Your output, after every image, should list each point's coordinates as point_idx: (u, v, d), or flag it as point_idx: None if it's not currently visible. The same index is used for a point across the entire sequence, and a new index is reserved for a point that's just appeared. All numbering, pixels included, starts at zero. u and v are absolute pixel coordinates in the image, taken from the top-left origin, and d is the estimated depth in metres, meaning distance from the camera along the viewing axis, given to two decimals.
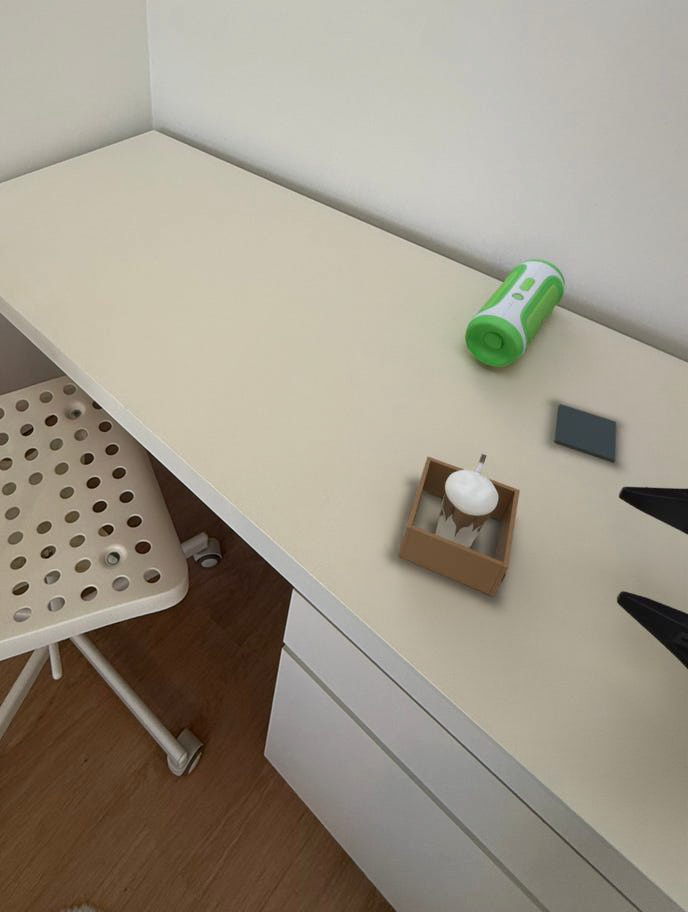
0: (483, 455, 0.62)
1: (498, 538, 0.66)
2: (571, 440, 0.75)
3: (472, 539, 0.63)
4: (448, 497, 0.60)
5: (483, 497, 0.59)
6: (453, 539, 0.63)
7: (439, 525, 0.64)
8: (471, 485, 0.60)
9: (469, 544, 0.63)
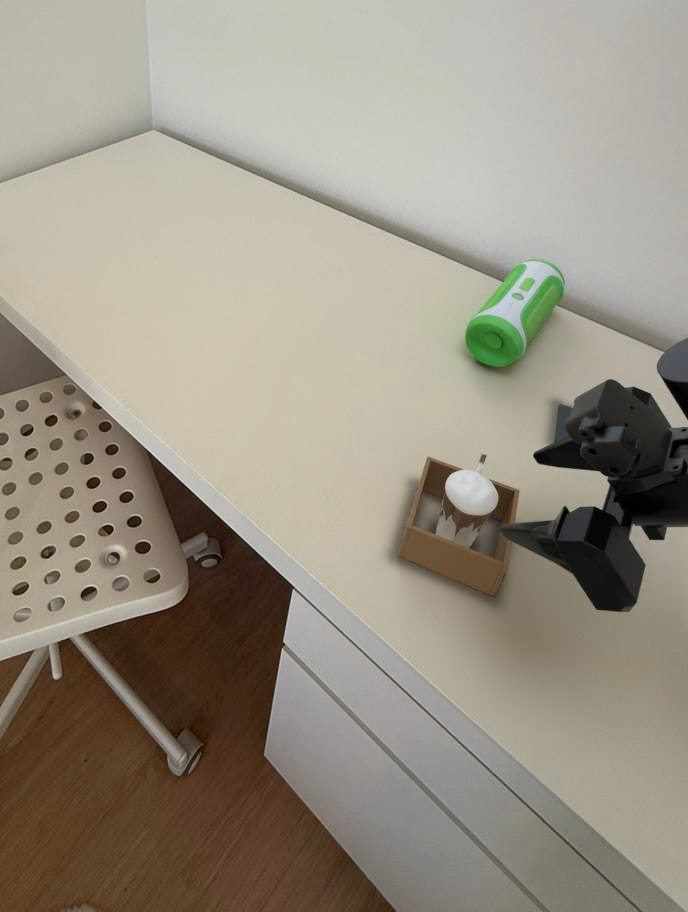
0: (483, 455, 0.62)
1: (498, 538, 0.66)
2: None
3: (472, 539, 0.63)
4: (448, 497, 0.60)
5: (483, 497, 0.59)
6: (453, 539, 0.63)
7: (439, 525, 0.64)
8: (471, 485, 0.60)
9: (469, 544, 0.63)
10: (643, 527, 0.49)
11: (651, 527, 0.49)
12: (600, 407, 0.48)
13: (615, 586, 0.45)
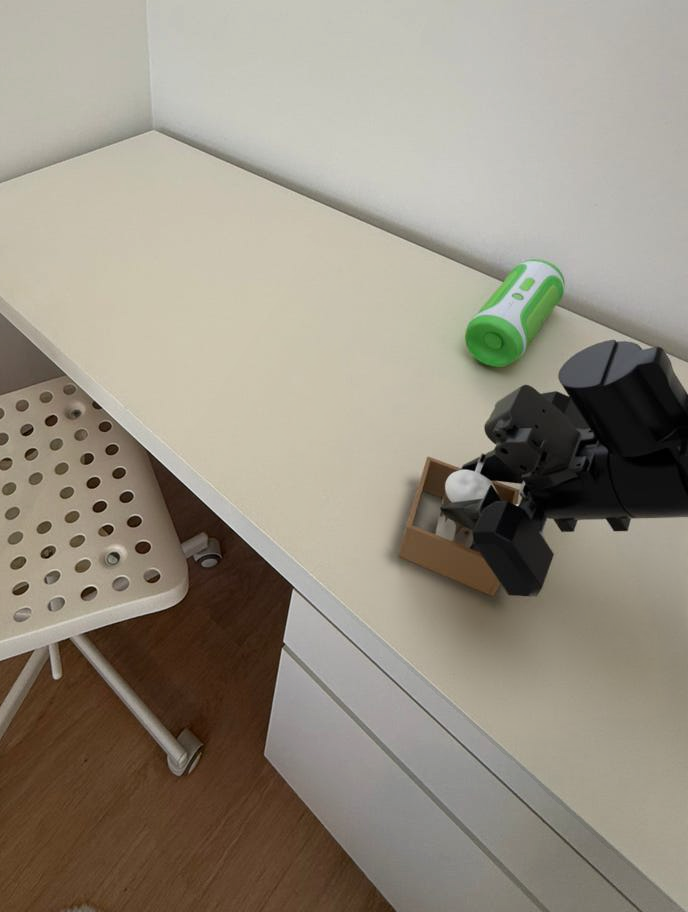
0: (483, 455, 0.62)
1: None
2: None
3: (472, 539, 0.63)
4: (448, 497, 0.60)
5: (483, 496, 0.59)
6: (453, 539, 0.63)
7: (439, 525, 0.64)
8: (471, 484, 0.60)
9: (469, 544, 0.63)
10: (555, 520, 0.54)
11: (562, 520, 0.53)
12: (513, 411, 0.52)
13: (522, 573, 0.49)
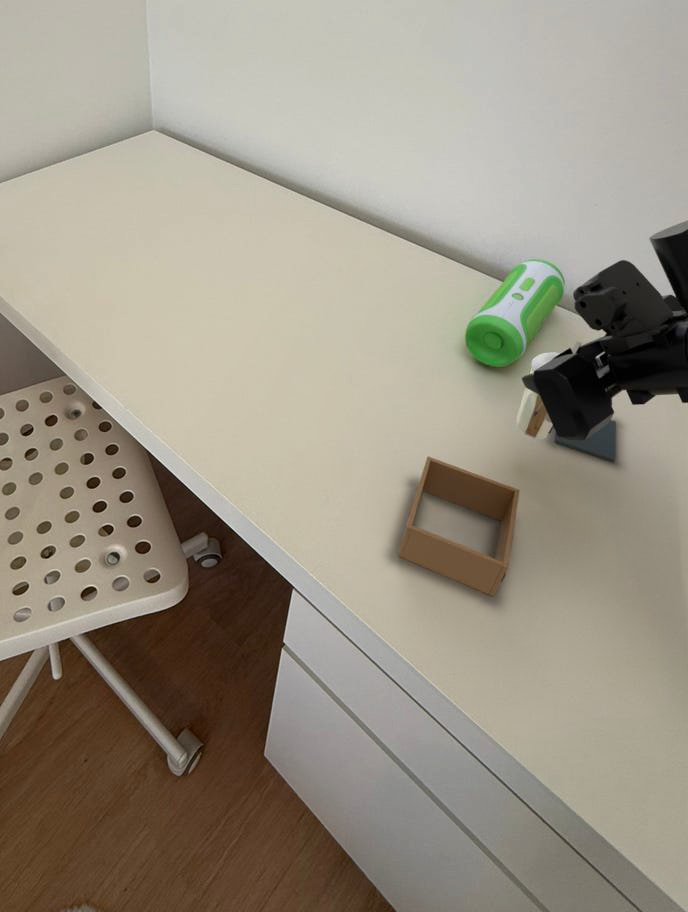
0: (578, 342, 0.64)
1: (498, 538, 0.66)
2: (571, 440, 0.75)
3: (550, 421, 0.65)
4: (532, 369, 0.64)
5: None
6: (531, 416, 0.66)
7: (521, 404, 0.67)
8: None
9: (547, 427, 0.66)
10: (628, 391, 0.56)
11: (634, 391, 0.55)
12: (603, 274, 0.55)
13: (572, 411, 0.53)
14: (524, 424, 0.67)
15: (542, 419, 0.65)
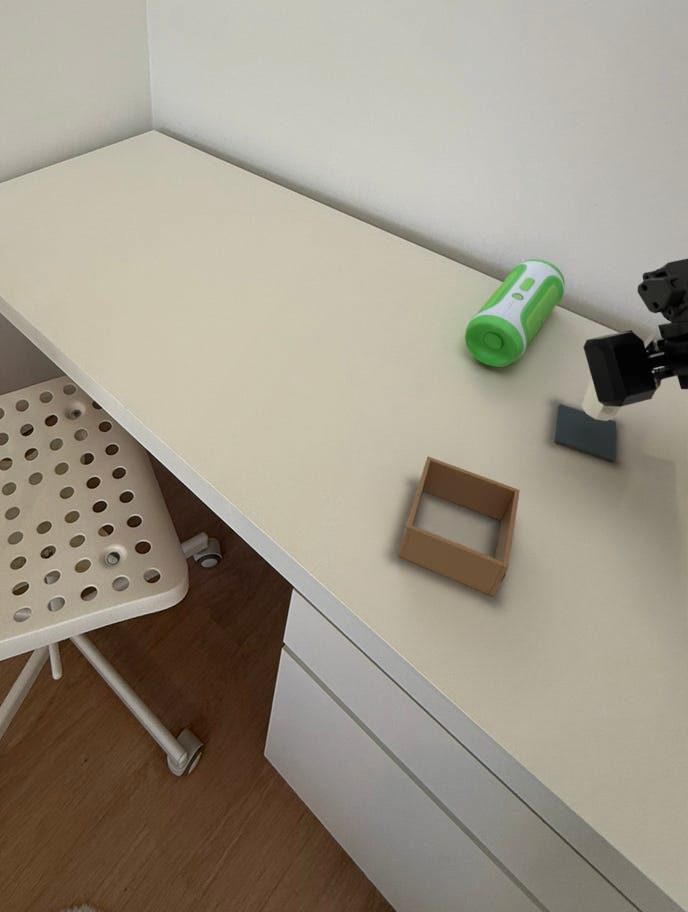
0: (652, 335, 0.68)
1: (498, 538, 0.66)
2: (571, 440, 0.75)
3: None
4: None
5: None
6: (593, 396, 0.71)
7: (588, 386, 0.73)
8: None
9: (608, 410, 0.71)
10: (678, 376, 0.60)
11: (683, 376, 0.60)
12: (671, 264, 0.60)
13: (612, 377, 0.59)
14: (587, 404, 0.72)
15: None
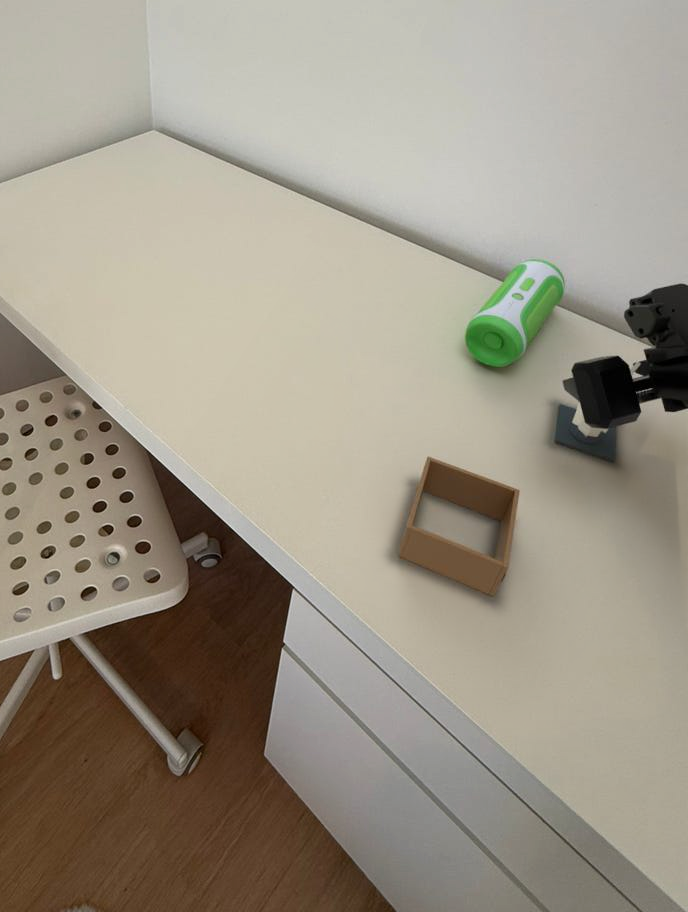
0: (638, 363, 0.71)
1: (498, 538, 0.66)
2: (571, 440, 0.75)
3: (598, 429, 0.73)
4: None
5: None
6: (580, 420, 0.73)
7: (576, 410, 0.75)
8: None
9: (595, 434, 0.73)
10: (662, 399, 0.62)
11: (667, 399, 0.62)
12: (657, 291, 0.62)
13: (599, 401, 0.61)
14: (574, 427, 0.75)
15: None
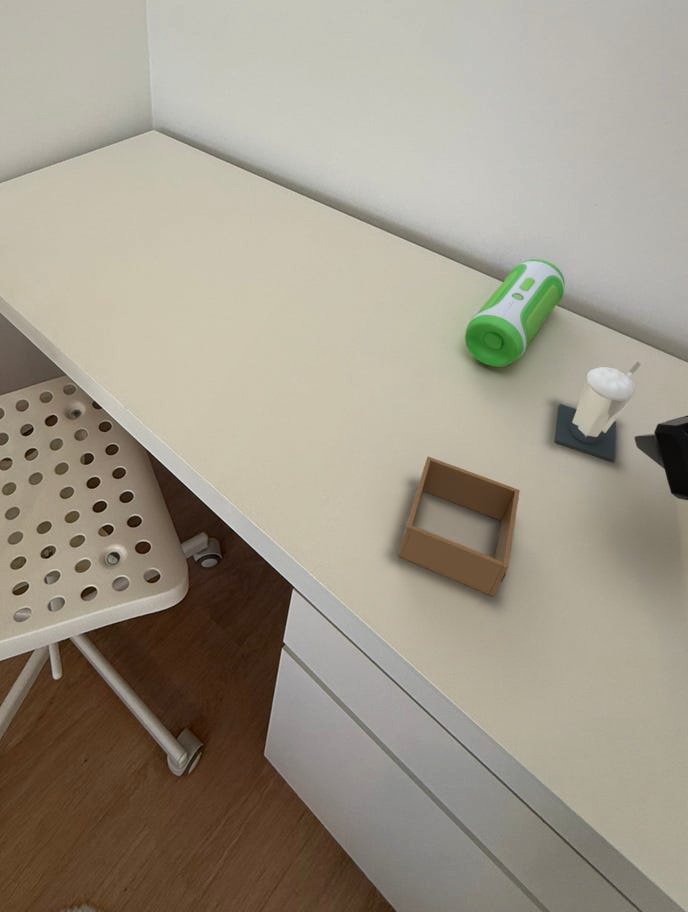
0: (638, 363, 0.71)
1: (498, 538, 0.66)
2: (571, 440, 0.75)
3: (598, 429, 0.73)
4: None
5: (616, 386, 0.69)
6: (580, 420, 0.73)
7: (576, 410, 0.75)
8: (611, 376, 0.70)
9: (595, 434, 0.73)
10: None
11: None
12: None
13: None
14: (574, 427, 0.75)
15: (590, 425, 0.73)
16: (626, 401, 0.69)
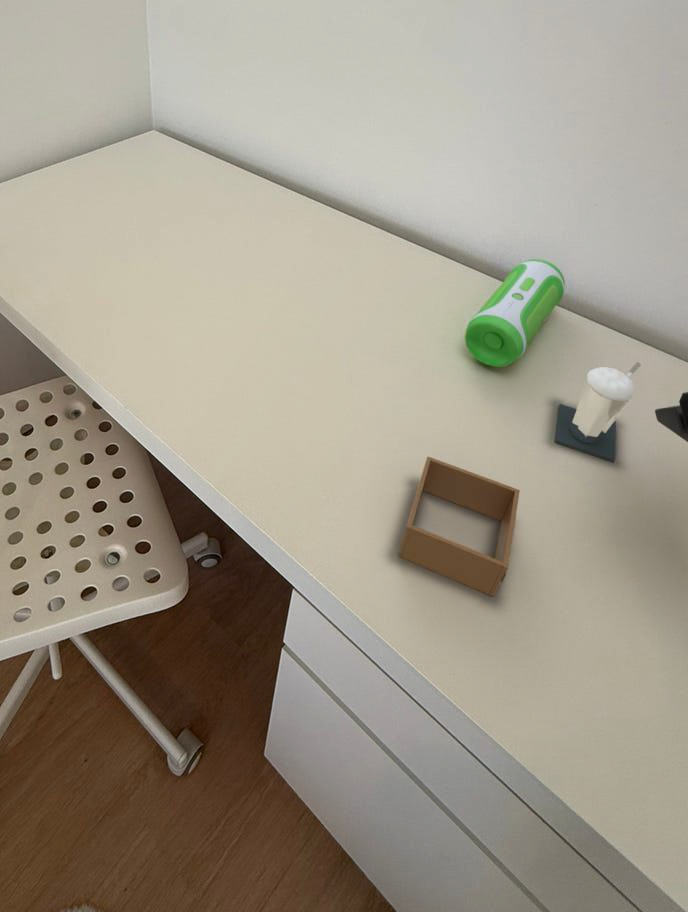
0: (638, 363, 0.71)
1: (498, 538, 0.66)
2: (571, 440, 0.75)
3: (598, 429, 0.73)
4: None
5: (616, 386, 0.69)
6: (580, 420, 0.73)
7: (576, 410, 0.75)
8: (611, 376, 0.70)
9: (595, 434, 0.73)
10: None
11: None
12: None
13: None
14: (574, 427, 0.75)
15: (590, 425, 0.73)
16: (626, 401, 0.69)
